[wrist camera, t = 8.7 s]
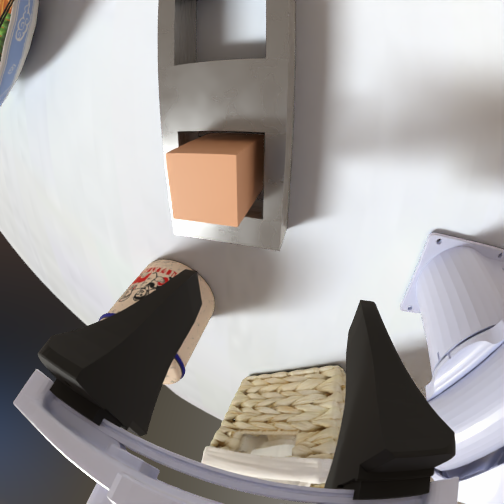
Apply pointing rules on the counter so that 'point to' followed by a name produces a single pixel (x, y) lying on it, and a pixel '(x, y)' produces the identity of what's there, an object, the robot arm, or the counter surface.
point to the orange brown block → (216, 177)
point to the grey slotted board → (232, 111)
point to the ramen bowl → (15, 39)
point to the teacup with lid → (151, 281)
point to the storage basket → (282, 427)
